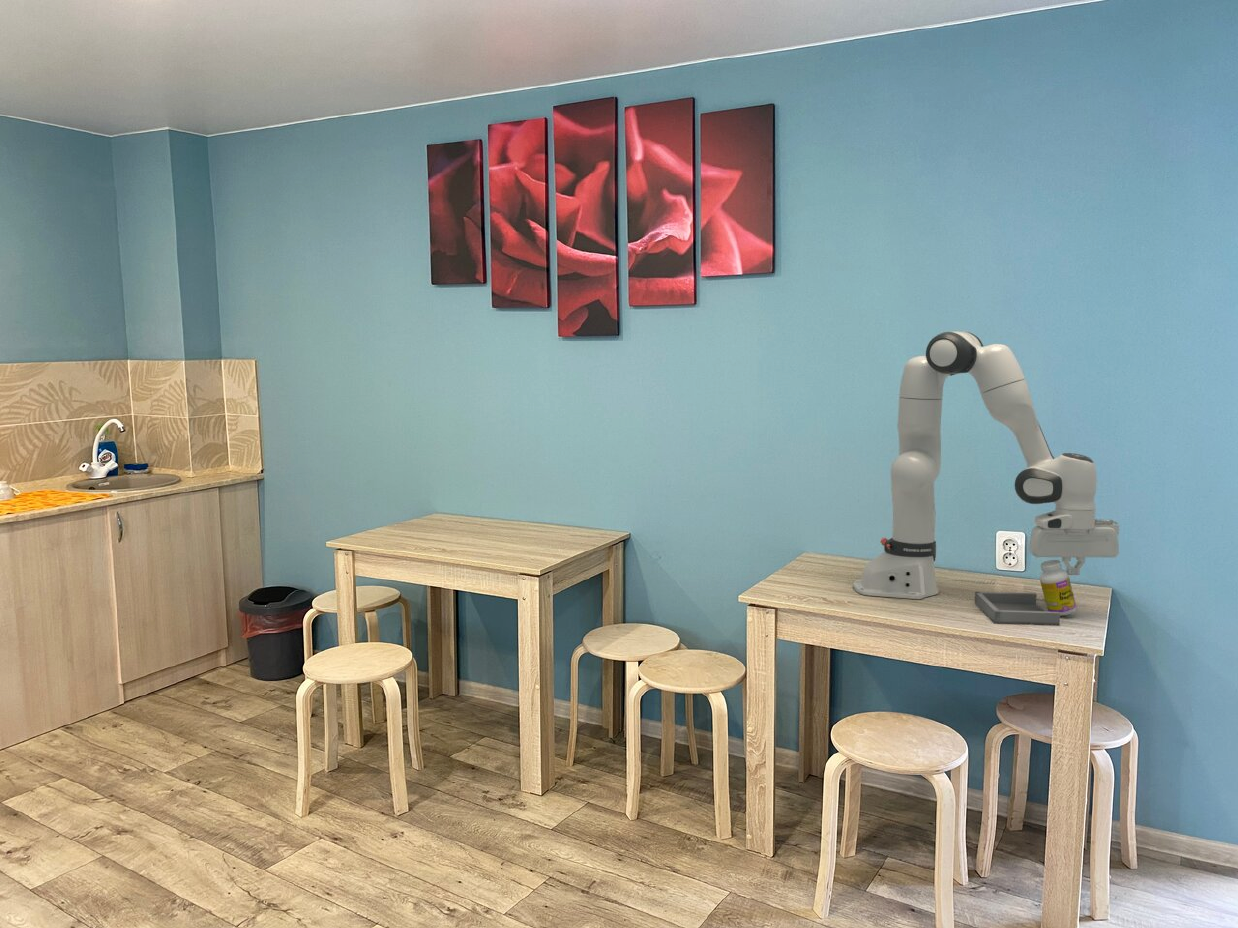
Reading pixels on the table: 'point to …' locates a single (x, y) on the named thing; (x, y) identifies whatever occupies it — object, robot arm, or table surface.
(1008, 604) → the tray
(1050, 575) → the supplement bottle
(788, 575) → the table surface
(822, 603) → the table surface
